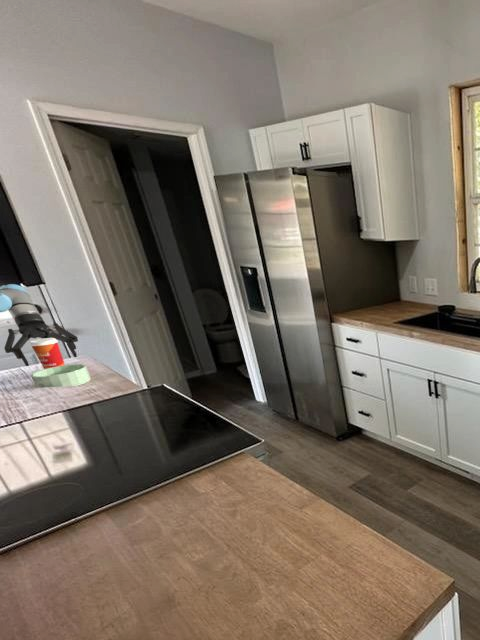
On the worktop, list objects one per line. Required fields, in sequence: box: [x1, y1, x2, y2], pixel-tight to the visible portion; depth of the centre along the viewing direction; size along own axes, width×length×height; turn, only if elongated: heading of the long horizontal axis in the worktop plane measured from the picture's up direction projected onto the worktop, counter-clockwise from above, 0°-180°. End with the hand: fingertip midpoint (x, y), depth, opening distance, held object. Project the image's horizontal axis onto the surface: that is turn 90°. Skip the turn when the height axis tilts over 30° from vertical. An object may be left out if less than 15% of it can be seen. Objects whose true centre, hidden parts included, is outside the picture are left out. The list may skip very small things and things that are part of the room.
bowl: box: [30, 363, 92, 389], centre depth 155 cm, size 14×14×6 cm
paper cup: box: [29, 337, 66, 369], centre depth 165 cm, size 8×8×14 cm
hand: (52, 359), depth 164 cm, fingers open, 13 cm apart
